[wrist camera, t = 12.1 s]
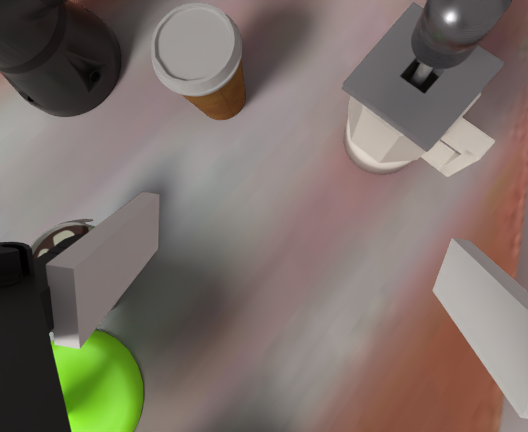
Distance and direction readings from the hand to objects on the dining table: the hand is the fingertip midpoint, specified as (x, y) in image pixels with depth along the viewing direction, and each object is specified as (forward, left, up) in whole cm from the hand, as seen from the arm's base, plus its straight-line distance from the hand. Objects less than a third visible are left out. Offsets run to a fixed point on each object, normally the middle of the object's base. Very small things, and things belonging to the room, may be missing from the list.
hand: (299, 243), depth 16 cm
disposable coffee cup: (-22, -6, -27) cm, 35 cm away
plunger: (-11, +12, -20) cm, 26 cm away
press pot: (-10, +13, -27) cm, 31 cm away
